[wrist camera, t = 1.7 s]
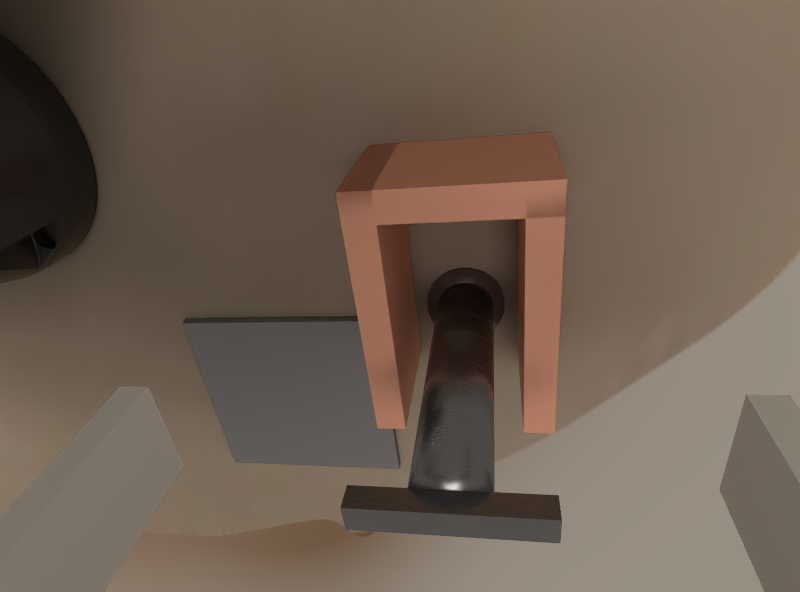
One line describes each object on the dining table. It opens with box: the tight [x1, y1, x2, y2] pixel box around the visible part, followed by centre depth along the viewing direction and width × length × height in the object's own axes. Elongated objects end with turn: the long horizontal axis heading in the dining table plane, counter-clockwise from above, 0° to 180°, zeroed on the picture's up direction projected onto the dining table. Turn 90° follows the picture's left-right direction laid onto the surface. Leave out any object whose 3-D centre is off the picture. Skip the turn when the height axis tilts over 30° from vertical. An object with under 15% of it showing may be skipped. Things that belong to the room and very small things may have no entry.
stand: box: [341, 268, 562, 543], centre depth 25 cm, size 8×4×15 cm, turn 96°
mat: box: [182, 317, 400, 469], centre depth 37 cm, size 13×13×1 cm
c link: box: [335, 132, 567, 433], centre depth 27 cm, size 9×13×7 cm
